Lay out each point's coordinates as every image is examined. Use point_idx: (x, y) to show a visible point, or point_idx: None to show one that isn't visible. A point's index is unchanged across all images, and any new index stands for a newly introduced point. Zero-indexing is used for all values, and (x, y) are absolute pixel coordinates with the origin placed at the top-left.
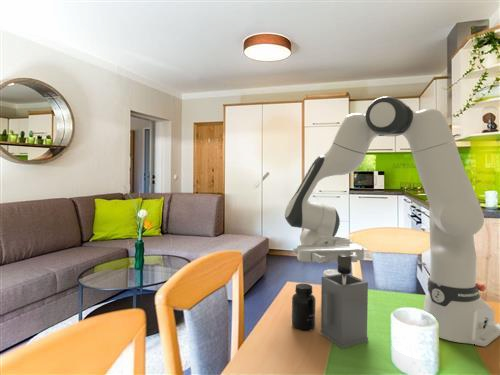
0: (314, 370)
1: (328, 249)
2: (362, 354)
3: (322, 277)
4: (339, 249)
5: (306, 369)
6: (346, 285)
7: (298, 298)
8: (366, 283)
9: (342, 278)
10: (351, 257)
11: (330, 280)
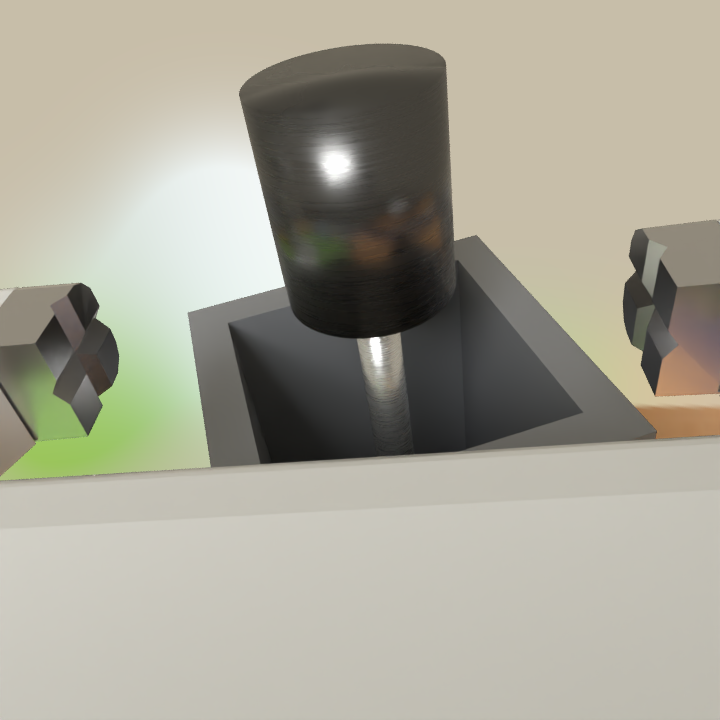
0: (652, 406)
1: (463, 476)
2: None
3: (644, 418)
4: (51, 488)
5: (690, 411)
6: None
7: None
8: (207, 315)
9: (401, 347)
10: (70, 337)
11: (550, 344)
